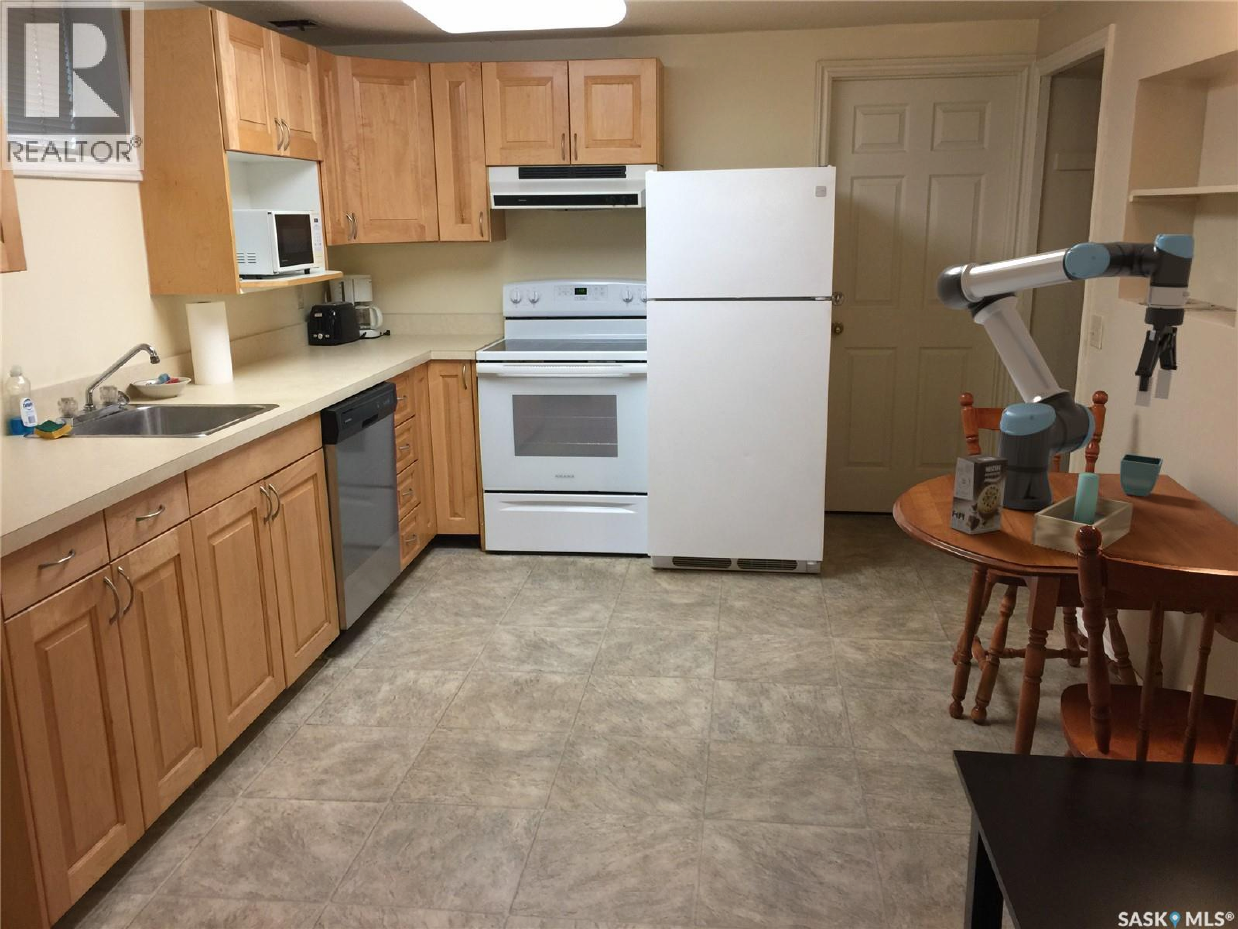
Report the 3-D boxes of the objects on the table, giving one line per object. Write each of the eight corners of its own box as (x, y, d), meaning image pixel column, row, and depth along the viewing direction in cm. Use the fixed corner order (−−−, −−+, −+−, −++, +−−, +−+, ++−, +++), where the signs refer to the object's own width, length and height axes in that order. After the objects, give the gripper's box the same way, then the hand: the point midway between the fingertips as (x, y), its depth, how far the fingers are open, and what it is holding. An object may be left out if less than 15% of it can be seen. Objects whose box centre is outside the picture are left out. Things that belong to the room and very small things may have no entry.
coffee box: (971, 535, 213) (978, 462, 209) (949, 527, 218) (955, 456, 214) (1001, 530, 217) (1009, 458, 213) (978, 522, 222) (986, 452, 218)
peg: (1068, 538, 212) (1076, 474, 208) (1075, 534, 214) (1083, 471, 211) (1087, 542, 209) (1096, 478, 205) (1094, 538, 212) (1102, 475, 208)
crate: (1030, 544, 207) (1034, 514, 206) (1072, 520, 224) (1076, 492, 222) (1090, 557, 199) (1094, 527, 198) (1129, 532, 216) (1133, 503, 214)
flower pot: (1158, 492, 248) (1163, 457, 246) (1155, 500, 241) (1160, 465, 239) (1119, 487, 253) (1124, 453, 250) (1115, 495, 245) (1120, 460, 243)
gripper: (1167, 311, 205) (1152, 411, 210) (1200, 304, 222) (1186, 397, 228) (1128, 308, 210) (1115, 406, 215) (1164, 302, 227) (1151, 393, 233)
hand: (1151, 402), depth 221 cm, fingers open, 13 cm apart
